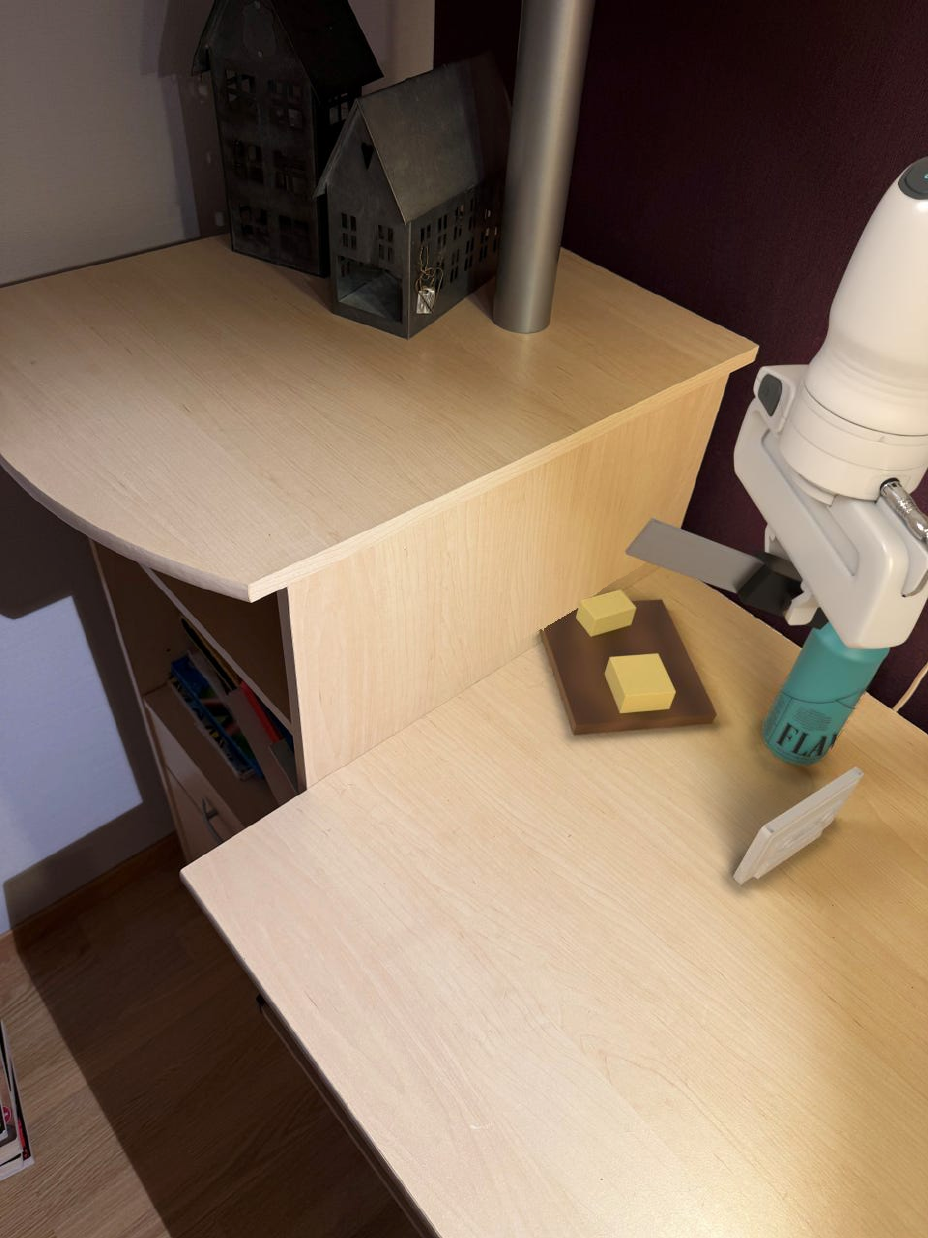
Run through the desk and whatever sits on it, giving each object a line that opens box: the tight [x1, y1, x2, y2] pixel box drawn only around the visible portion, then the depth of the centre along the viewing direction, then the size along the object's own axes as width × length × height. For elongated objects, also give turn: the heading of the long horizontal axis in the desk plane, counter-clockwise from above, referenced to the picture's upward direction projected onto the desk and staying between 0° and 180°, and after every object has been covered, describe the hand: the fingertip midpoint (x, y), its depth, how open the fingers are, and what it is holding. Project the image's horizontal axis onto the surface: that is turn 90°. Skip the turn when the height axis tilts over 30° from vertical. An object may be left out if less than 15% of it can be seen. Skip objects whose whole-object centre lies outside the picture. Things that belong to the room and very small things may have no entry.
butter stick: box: [605, 653, 676, 713], centre depth 87 cm, size 5×5×2 cm
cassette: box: [732, 765, 865, 886], centre depth 75 cm, size 12×2×8 cm, turn 124°
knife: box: [624, 517, 829, 630], centre depth 63 cm, size 18×2×3 cm, turn 99°
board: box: [538, 599, 717, 736], centre depth 91 cm, size 14×16×2 cm
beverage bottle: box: [761, 621, 891, 767], centre depth 79 cm, size 6×7×20 cm
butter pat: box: [576, 588, 636, 637], centre depth 93 cm, size 5×3×2 cm, turn 116°
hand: (782, 599), depth 66 cm, fingers closed on knife, 2 cm apart
